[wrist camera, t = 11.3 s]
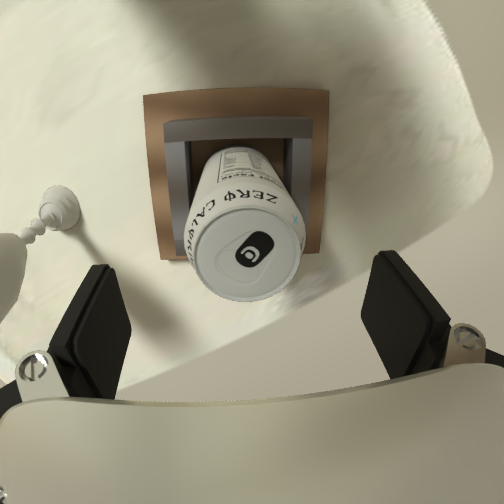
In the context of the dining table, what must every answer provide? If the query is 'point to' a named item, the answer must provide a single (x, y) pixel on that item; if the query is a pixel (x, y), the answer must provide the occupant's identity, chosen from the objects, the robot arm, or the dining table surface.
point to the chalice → (13, 247)
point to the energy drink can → (243, 227)
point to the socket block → (234, 132)
